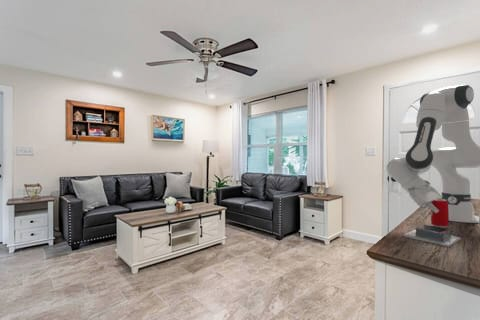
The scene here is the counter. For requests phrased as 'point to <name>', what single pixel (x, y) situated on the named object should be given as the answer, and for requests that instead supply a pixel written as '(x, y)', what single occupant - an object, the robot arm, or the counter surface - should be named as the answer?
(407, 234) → the grey socket base
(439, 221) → the beverage can
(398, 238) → the counter surface
